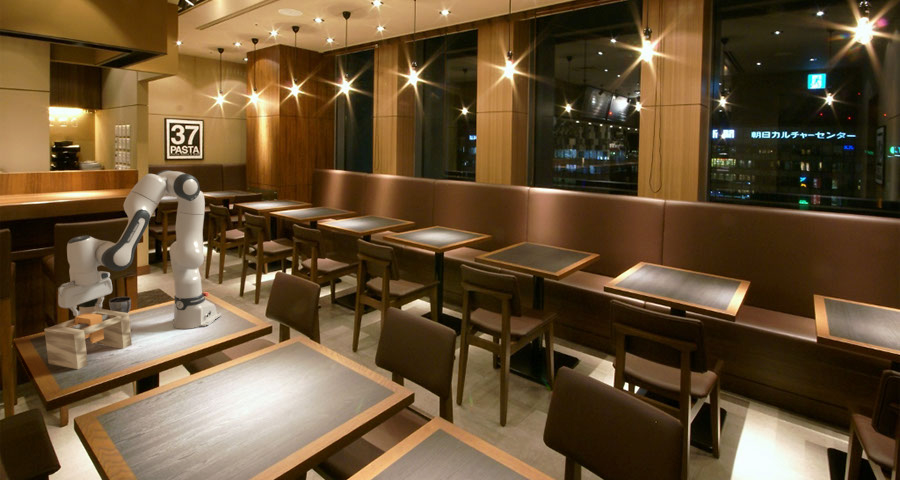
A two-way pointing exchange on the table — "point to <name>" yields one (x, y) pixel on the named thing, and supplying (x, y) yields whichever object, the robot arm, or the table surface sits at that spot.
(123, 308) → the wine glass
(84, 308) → the wine bottle
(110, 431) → the table surface
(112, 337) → the shelf
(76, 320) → the upright wooden block
